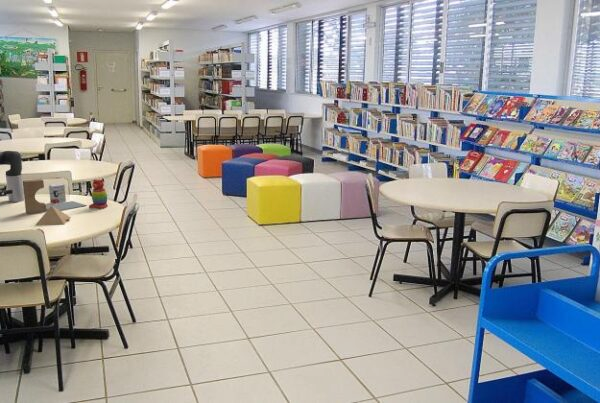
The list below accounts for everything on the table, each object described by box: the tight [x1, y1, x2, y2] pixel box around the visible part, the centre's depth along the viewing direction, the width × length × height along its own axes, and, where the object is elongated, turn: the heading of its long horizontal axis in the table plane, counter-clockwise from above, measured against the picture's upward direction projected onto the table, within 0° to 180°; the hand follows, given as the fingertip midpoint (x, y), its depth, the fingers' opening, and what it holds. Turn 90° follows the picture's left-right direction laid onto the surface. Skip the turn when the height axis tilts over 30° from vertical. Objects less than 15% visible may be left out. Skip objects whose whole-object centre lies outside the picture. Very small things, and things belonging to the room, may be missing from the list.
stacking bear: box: [88, 178, 108, 210], centre depth 359 cm, size 11×10×18 cm
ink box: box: [48, 183, 67, 205], centre depth 371 cm, size 9×5×12 cm, turn 136°
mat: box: [46, 200, 87, 212], centre depth 360 cm, size 17×22×1 cm
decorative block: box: [22, 178, 47, 215], centre depth 345 cm, size 11×6×20 cm, turn 122°
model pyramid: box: [34, 206, 71, 227], centre depth 325 cm, size 17×17×10 cm
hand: (9, 190), depth 332 cm, fingers open, 8 cm apart
